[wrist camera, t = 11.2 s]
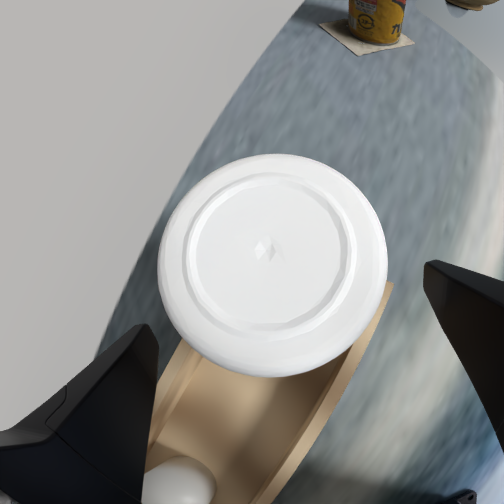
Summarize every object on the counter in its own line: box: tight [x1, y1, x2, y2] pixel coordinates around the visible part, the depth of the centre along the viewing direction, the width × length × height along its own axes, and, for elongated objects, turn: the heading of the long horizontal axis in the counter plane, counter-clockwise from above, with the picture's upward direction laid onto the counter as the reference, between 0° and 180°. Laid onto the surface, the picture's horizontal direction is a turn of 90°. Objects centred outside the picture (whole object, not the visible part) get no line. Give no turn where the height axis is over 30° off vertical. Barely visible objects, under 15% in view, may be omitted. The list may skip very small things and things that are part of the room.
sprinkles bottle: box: [157, 154, 388, 378], centre depth 12 cm, size 5×5×13 cm
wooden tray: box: [144, 280, 394, 504], centre depth 15 cm, size 26×9×4 cm, turn 151°
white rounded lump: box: [141, 456, 217, 504], centre depth 14 cm, size 4×4×3 cm
